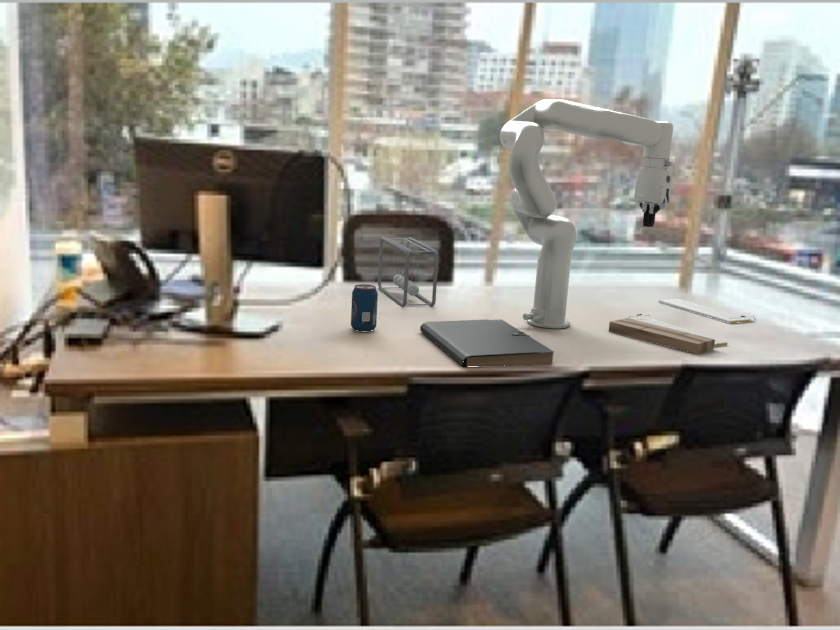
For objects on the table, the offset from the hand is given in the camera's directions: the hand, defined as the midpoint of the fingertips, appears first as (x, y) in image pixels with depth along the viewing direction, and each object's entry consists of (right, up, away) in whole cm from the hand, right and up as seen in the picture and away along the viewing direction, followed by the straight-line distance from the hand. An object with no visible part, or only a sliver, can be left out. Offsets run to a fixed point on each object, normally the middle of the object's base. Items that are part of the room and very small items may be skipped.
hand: (648, 226), depth 254 cm
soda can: (-83, -31, -23) cm, 92 cm away
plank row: (-1, -33, -15) cm, 37 cm away
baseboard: (+6, -33, -6) cm, 34 cm away
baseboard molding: (+26, -26, +26) cm, 45 cm away
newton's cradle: (-73, -21, +21) cm, 79 cm away
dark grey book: (-52, -36, -33) cm, 71 cm away
